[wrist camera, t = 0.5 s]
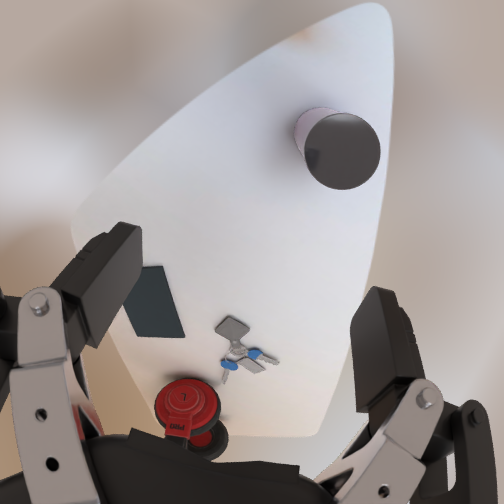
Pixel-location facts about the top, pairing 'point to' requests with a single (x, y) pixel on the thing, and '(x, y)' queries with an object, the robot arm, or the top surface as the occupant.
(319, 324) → the top surface
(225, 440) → the headphones
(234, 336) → the key chain
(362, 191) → the top surface
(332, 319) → the top surface
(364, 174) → the tin
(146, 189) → the top surface
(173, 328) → the mat
